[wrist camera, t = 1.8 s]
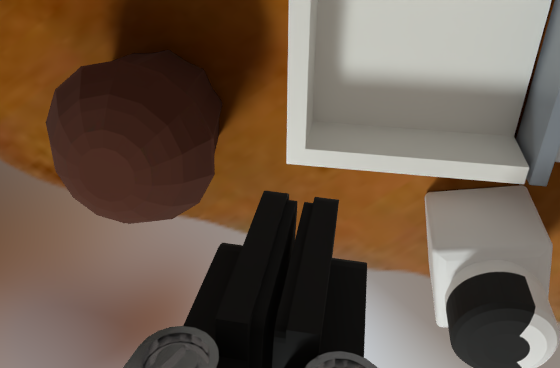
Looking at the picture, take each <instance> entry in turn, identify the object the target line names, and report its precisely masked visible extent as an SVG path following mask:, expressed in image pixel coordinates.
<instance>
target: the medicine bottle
mask: <svg viewBox="0 0 560 368" xmlns="http://www.w3.org/2000/svg"><path fill="white" fill-rule="evenodd" d="M425 210H426V225H427V240H428V255H429V267H430V275H431V283H432V291H433V300H434V308H435V316H436V322H437V325H438V326H440V327H448V328H449V334H450V341H451V345H452V348H453V350H454V352H455V353H456V355H457V356H458V357H459V358H460V359H461V360H462V361H464V362H465V363H467V364H468V365H470V366H472V367H473V368H537V367H539V366H540V365H542V364H543V363H545V362H546V361H547V360H548V359H549V358H550V357H551V356H552V355H553V353H554V352H555V350H556V349H557V347H558V345H559V341H560V330H559V327H558V324H557V322H556V319H555V317H554V314H553V311H552V309H551V306H550V304H549V301H548V294H549V282H550V270H551V259H552V247H553V245H552V242H551V240H550V238H549V236H548V234H547V231H546V229H545V227H544V225H543V222H542V220H541V218H540V216H539V214H538V211H537V209H536V207H535V205H534V203H533V200H532V198H531V196H530V194H529V192H528V189H527V188H526V187H525V186H523V185H518V186H505V187H492V188H479V189H465V190H452V191H439V192H428V193H427V194H426V195H425Z"/></svg>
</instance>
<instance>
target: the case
mask: <svg viewBox="0 0 560 368" xmlns="http://www.w3.org/2000/svg"><path fill="white" fill-rule="evenodd" d="M551 1H552V0H289V24H288V94H287V164H296V165H307V166H319V167H330V168H342V169H353V170H365V171H376V172H388V173H399V174H411V175H423V176H434V177H446V178H457V179H469V180H480V181H492V182H503V183H515V184H524V183H525V180H526V177H527V173H528V170H529V166H528V164H527V162H526V160H525V158H524V156H523V154H522V152H521V150H520V148H519V146H518V143H517V141H516V139H515V137H514V135H515V131H516V128H517V124H518V120H519V117H520V113H521V109H522V106H523V102H524V99H525V95H526V91H527V88H528V84H529V81H530V77H531V73H532V70H533V66H534V63H535V59H536V55H537V52H538V48H539V44H540V41H541V37H542V34H543V30H544V26H545V23H546V19H547V16H548V12H549V8H550V5H551Z"/></svg>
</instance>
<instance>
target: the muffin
mask: <svg viewBox="0 0 560 368" xmlns="http://www.w3.org/2000/svg"><path fill="white" fill-rule="evenodd" d="M221 107H222V101H221V100H220V99H219V97H218V96H217V94H216V93H215V91H214V90H213V88H212V87H211V84H210V82H209V80H208V78H207V75H206V73H205V71H204V69H202V68H199V67H197V66H195V65H193V64H191V63H188V62H186V61H185V60H183V59H182V58H180V57H179V56H177V55H176V54H174V53H173V52H171V51H170V50H166V51H161V52H156V53H151V54H149V53H133V54H130V55H127V56H125V57H122V58H119V59H116V60H113V61H111V62H105V63H99V64H93V65H87V66H81V67H80V68H79V69H78V70H77V71H76V72H74V73H73V74H72V75H71V76H70V77H69V78H68V79H67V80H65V81H64V82H63V83H62V84H61V85H60V86H59V87H58V88H56V89H55V92H54V95H53V99H52V103H51V106H50V110H49V113H48V117H47V121H46V126H47V130H48V135H49V140H50V145H51V150H52V155H53V160H54V166H55V169H56V172H57V174H58V175H59V177H60V178H61V180H62V181H63V183H64V184H65V186H66V187H67V189H68V190H69V192H70V193H71V195H72V196H73V198H75V199H76V200H77V201H79V202H80V203H81V204H83V205H84V206H86V207H87V208H88V209H90V210H91V211H92V212H94V213H95V214H96V215H99V216H102V217H106V218H109V219H113V220H116V221H119V222H123V223H128V224H131V223H139V222H150V221H159V220H166V219H173V218H175V217H176V216H178V215H180V214H181V213H183V212H185V211H186V210H188V209H190V208H191V207H193V206H195V205H196V204H198V203H199V202H200V200H201V198H202V197H203V195H204V193H205V191H206V189H207V187H208V186H209V184H210V182H211V180H212V178H213V176H214V174H215V173H214V153H215V149H216V145H217V141H218V136H219V116H220V112H221Z"/></svg>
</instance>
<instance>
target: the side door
mask: <svg viewBox="0 0 560 368" xmlns="http://www.w3.org/2000/svg"><path fill="white" fill-rule="evenodd" d="M516 141H517V143H518V146H519V148H520V150H521V152H522V154H523V156H524V158H525V160H526V162H527V164H528V166H529V170H528V173H527V177H526V179H527V181H528V183H529V185H538V186H547V183H548V180H549V177H550V174H551V171H552V168H553V165H554V162H560V0H555V2H554V5H553V9H552V12H551V16H550V19H549V23H548V27H547V30H546V34H545V37H544V41H543V44H542V48H541V52H540V55H539V59H538V62H537V66H536V69H535V73H534V77H533V80H532V84H531V87H530V91H529V94H528V98H527V102H526V105H525V109H524V112H523V116H522V119H521V123H520V127H519V130H518V134H517V137H516Z"/></svg>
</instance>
